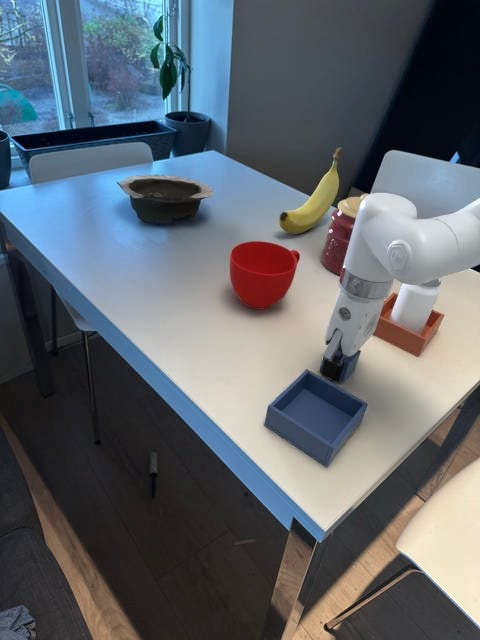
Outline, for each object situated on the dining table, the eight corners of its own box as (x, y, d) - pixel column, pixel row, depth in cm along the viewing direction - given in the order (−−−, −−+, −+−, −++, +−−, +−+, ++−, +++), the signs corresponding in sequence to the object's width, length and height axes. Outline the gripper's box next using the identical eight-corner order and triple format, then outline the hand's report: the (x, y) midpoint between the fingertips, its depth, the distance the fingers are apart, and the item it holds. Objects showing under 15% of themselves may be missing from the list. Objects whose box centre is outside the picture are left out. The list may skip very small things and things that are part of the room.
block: (354, 370, 77) (361, 350, 74) (342, 383, 74) (349, 363, 71) (331, 357, 79) (337, 338, 76) (319, 370, 76) (324, 350, 73)
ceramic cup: (314, 299, 94) (324, 257, 88) (255, 327, 84) (262, 282, 78) (271, 271, 101) (278, 231, 95) (212, 294, 91) (216, 251, 85)
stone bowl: (138, 237, 107) (135, 199, 102) (109, 204, 125) (105, 170, 119) (229, 223, 117) (231, 188, 112) (191, 194, 135) (190, 162, 130)
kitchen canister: (358, 286, 100) (381, 211, 89) (310, 263, 106) (326, 191, 95) (384, 266, 108) (407, 197, 97) (338, 246, 114) (355, 178, 104)
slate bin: (361, 422, 68) (368, 404, 65) (327, 467, 61) (333, 449, 58) (302, 386, 73) (306, 368, 70) (263, 425, 66) (267, 406, 63)
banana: (286, 244, 112) (301, 164, 100) (269, 235, 115) (281, 157, 103) (335, 221, 127) (353, 149, 115) (318, 214, 130) (334, 143, 118)
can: (423, 329, 88) (447, 277, 81) (415, 345, 83) (439, 292, 76) (392, 316, 90) (411, 265, 83) (382, 331, 86) (402, 278, 79)
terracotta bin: (437, 331, 89) (444, 314, 86) (418, 356, 82) (426, 339, 79) (387, 308, 94) (393, 292, 91) (365, 330, 87) (371, 313, 84)
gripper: (364, 314, 58) (332, 408, 69) (411, 269, 70) (377, 356, 80) (315, 291, 62) (292, 384, 73) (367, 251, 73) (340, 337, 84)
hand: (337, 368), depth 76 cm, fingers closed on block, 4 cm apart
